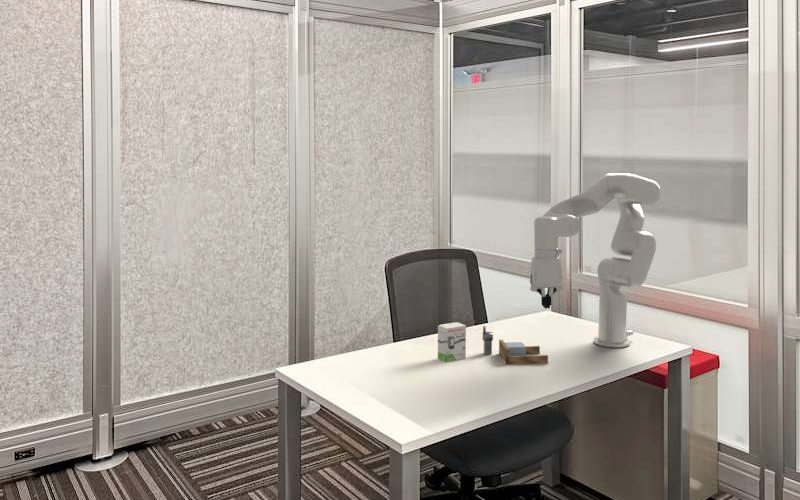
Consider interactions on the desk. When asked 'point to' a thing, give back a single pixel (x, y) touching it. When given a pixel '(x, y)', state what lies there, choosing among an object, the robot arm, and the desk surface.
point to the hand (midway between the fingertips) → (546, 307)
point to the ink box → (451, 342)
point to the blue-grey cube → (516, 348)
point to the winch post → (487, 341)
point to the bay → (528, 359)
